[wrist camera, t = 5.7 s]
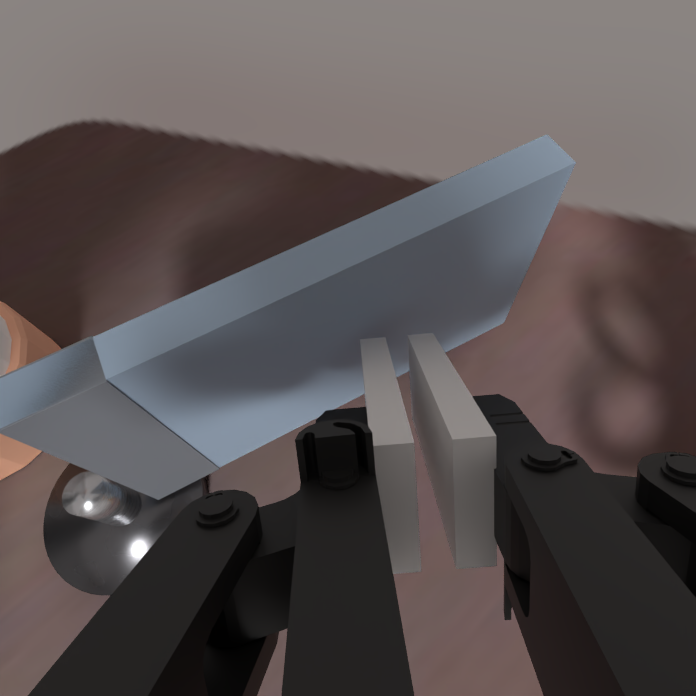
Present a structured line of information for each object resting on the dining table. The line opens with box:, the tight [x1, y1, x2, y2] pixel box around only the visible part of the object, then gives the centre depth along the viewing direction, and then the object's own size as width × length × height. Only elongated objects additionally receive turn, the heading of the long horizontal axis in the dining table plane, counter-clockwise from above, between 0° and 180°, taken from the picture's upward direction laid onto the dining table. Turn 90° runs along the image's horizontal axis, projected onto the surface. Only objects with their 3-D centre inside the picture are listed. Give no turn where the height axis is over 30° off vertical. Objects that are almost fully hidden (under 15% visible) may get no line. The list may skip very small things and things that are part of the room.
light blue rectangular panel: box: [0, 135, 576, 500], centre depth 16 cm, size 15×1×8 cm, turn 117°
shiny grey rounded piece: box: [44, 463, 208, 595], centre depth 18 cm, size 6×6×4 cm
